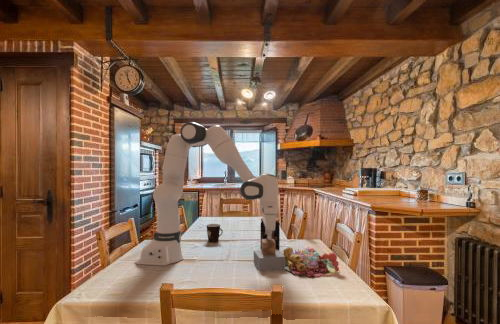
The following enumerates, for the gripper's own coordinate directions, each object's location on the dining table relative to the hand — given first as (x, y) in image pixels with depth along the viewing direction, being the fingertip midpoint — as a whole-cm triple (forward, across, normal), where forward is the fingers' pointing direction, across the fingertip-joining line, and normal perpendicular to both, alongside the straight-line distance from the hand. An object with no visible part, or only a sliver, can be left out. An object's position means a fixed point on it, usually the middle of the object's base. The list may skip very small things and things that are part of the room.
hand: (268, 236), depth 134 cm
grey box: (+14, 0, 0) cm, 14 cm away
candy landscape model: (+14, +3, +20) cm, 24 cm away
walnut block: (+8, 0, 0) cm, 8 cm away
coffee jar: (+14, -23, +4) cm, 27 cm away
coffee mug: (+14, -43, -30) cm, 54 cm away
